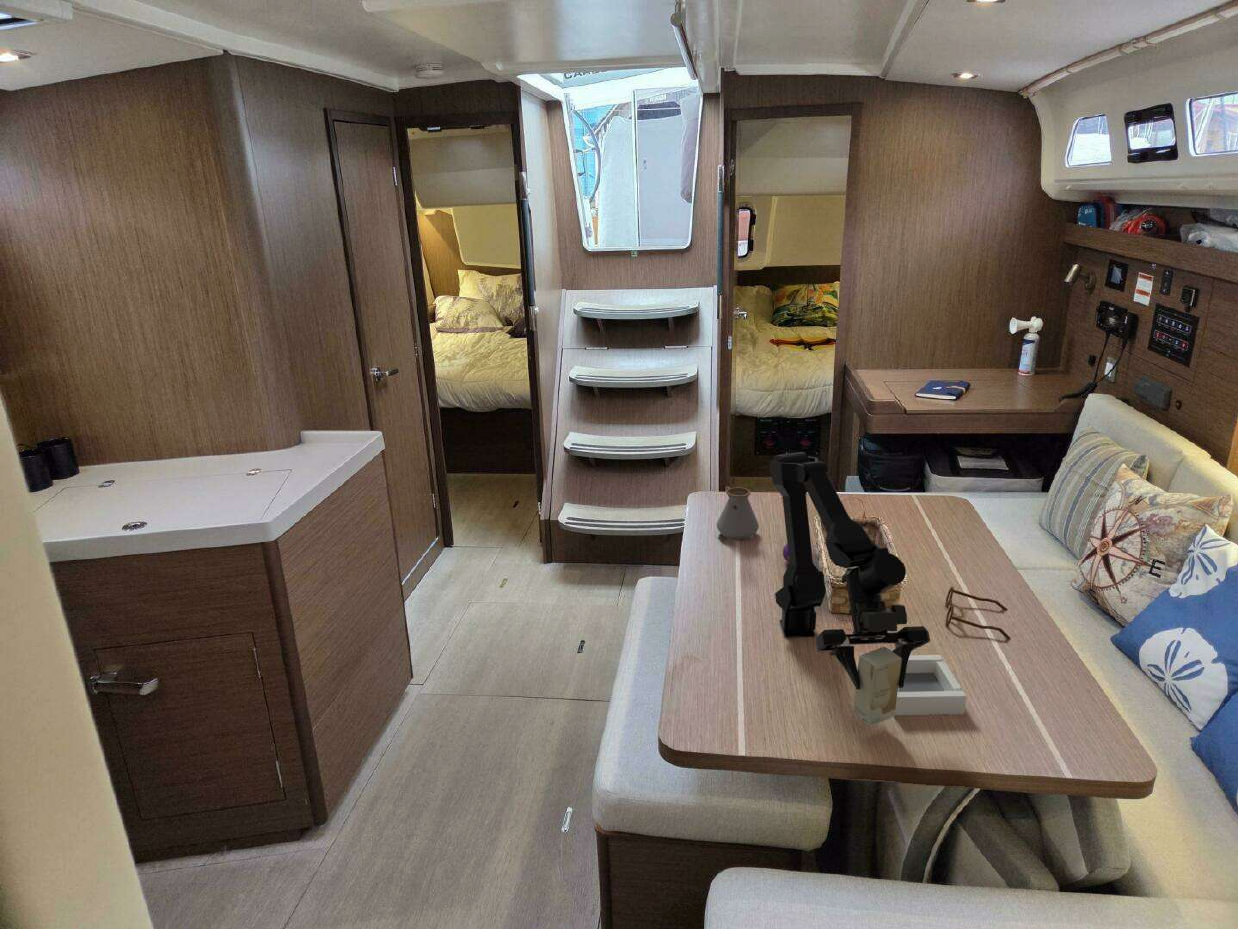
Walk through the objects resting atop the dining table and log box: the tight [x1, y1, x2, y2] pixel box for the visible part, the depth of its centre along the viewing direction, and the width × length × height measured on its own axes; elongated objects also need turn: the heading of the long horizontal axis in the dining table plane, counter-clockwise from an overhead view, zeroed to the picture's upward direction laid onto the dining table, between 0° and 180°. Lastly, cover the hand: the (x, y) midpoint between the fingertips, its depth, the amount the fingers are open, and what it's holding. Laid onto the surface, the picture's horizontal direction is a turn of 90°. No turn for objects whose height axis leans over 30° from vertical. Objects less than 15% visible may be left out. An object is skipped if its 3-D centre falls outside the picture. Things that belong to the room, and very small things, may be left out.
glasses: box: [944, 586, 1012, 640], centre depth 176 cm, size 13×13×5 cm
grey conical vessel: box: [716, 486, 760, 542], centre depth 213 cm, size 21×12×15 cm, turn 168°
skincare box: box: [852, 646, 902, 727], centre depth 140 cm, size 6×4×12 cm
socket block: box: [895, 654, 967, 716], centre depth 152 cm, size 13×13×4 cm
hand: (880, 688), depth 139 cm, fingers closed on skincare box, 7 cm apart
